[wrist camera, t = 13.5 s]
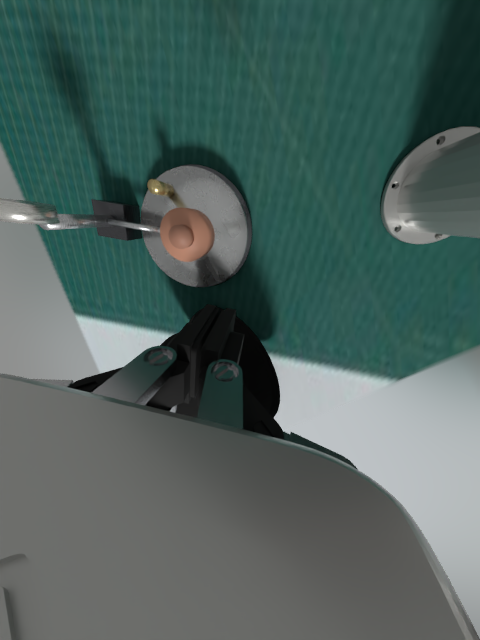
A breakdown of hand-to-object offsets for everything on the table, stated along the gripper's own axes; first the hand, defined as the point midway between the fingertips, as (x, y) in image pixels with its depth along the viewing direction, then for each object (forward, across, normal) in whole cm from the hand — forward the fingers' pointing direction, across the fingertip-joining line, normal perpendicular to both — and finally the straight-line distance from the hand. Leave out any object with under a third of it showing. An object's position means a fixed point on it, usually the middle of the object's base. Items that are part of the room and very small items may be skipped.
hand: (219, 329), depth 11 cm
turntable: (+24, +10, -2) cm, 26 cm away
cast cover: (+22, +10, -2) cm, 24 cm away
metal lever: (+25, +20, -2) cm, 32 cm away
